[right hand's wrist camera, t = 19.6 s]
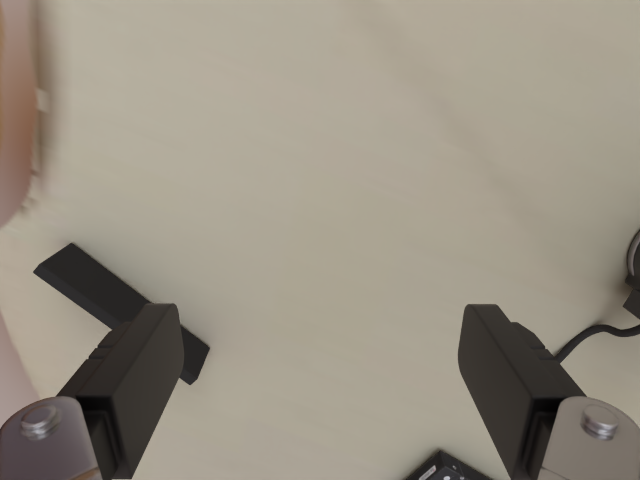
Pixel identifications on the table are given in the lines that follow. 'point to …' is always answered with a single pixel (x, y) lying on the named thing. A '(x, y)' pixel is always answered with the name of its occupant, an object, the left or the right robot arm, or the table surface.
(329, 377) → the table surface
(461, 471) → the disk drive
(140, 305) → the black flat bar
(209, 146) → the table surface
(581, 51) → the table surface
